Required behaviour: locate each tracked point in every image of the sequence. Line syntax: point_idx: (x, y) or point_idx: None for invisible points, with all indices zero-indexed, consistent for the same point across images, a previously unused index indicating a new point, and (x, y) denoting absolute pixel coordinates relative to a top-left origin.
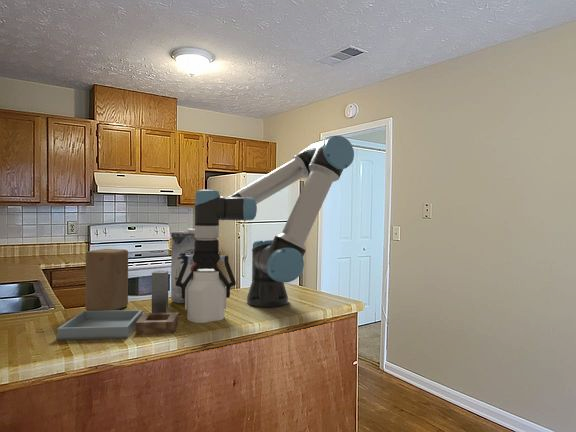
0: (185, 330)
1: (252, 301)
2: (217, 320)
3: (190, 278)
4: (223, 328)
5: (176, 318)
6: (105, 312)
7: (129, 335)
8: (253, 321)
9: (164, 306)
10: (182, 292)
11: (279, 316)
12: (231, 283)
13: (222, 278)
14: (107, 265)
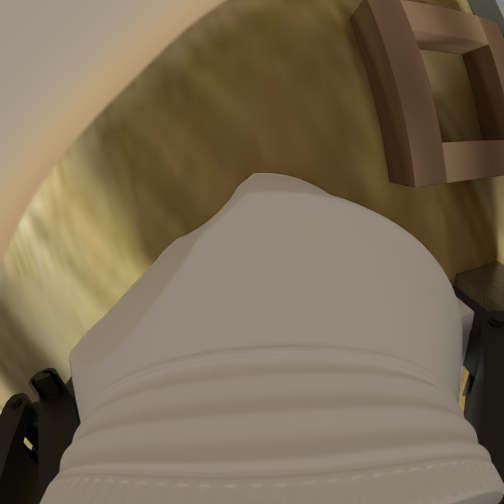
0: (304, 47)
1: None
2: (185, 235)
3: (491, 405)
4: (120, 109)
5: (395, 112)
6: None
7: (475, 14)
8: (38, 248)
9: (487, 291)
10: (470, 302)
11: (3, 320)
12: (34, 417)
13: (59, 457)
14: None
